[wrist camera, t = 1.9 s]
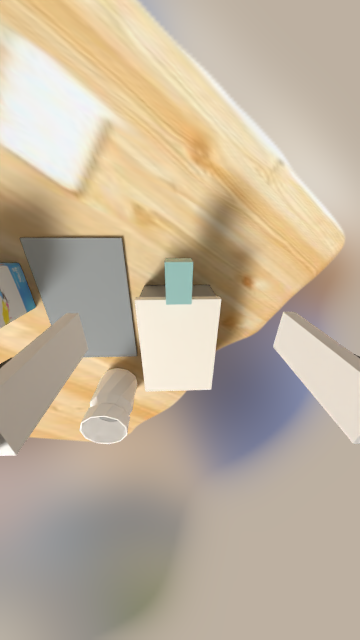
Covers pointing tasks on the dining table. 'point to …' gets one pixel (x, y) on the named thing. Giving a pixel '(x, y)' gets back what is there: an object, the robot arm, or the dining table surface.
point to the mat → (86, 289)
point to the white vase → (110, 407)
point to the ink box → (13, 293)
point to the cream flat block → (178, 333)
